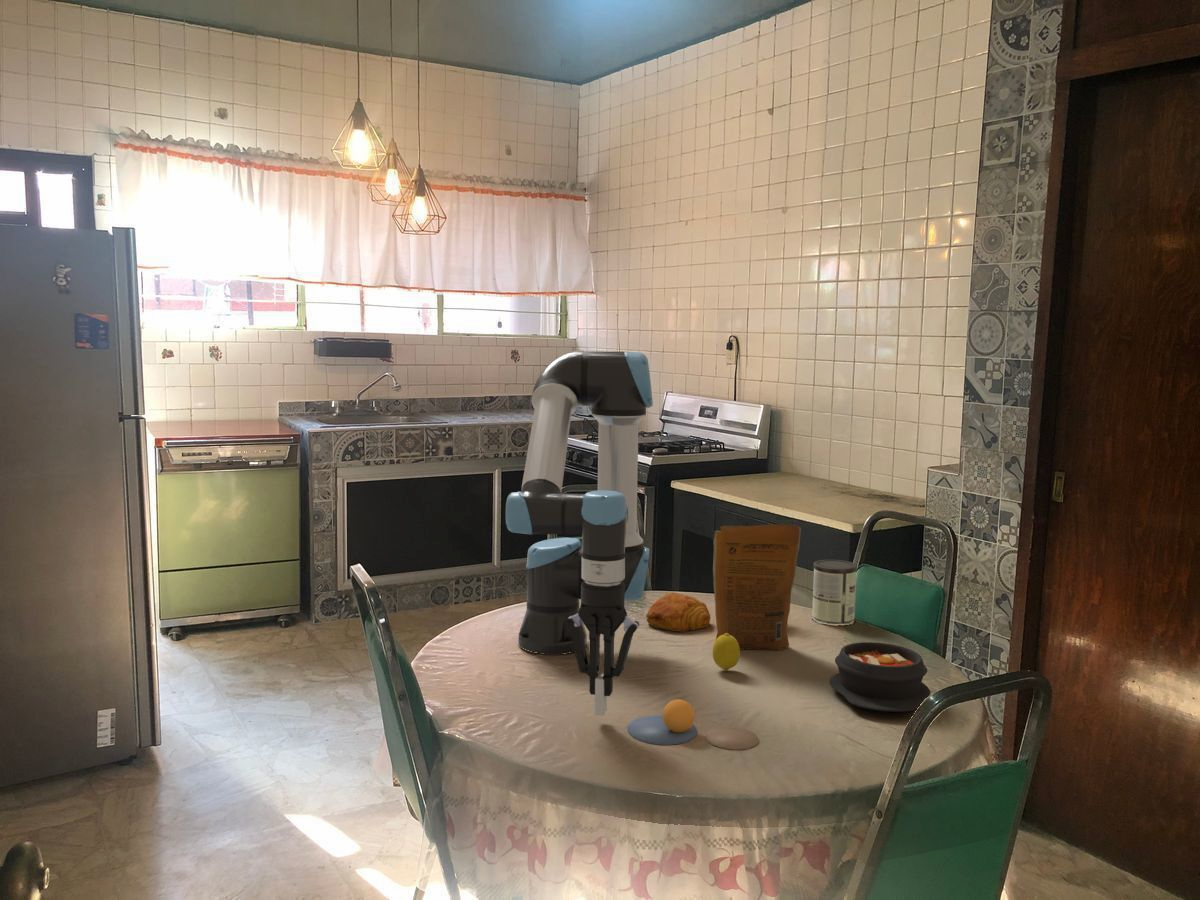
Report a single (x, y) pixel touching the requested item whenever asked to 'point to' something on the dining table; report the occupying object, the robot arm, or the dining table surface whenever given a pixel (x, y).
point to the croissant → (678, 613)
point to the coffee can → (834, 591)
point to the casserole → (880, 677)
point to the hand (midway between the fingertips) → (600, 712)
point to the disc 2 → (732, 738)
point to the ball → (678, 716)
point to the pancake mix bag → (755, 583)
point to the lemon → (726, 651)
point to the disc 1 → (658, 731)
